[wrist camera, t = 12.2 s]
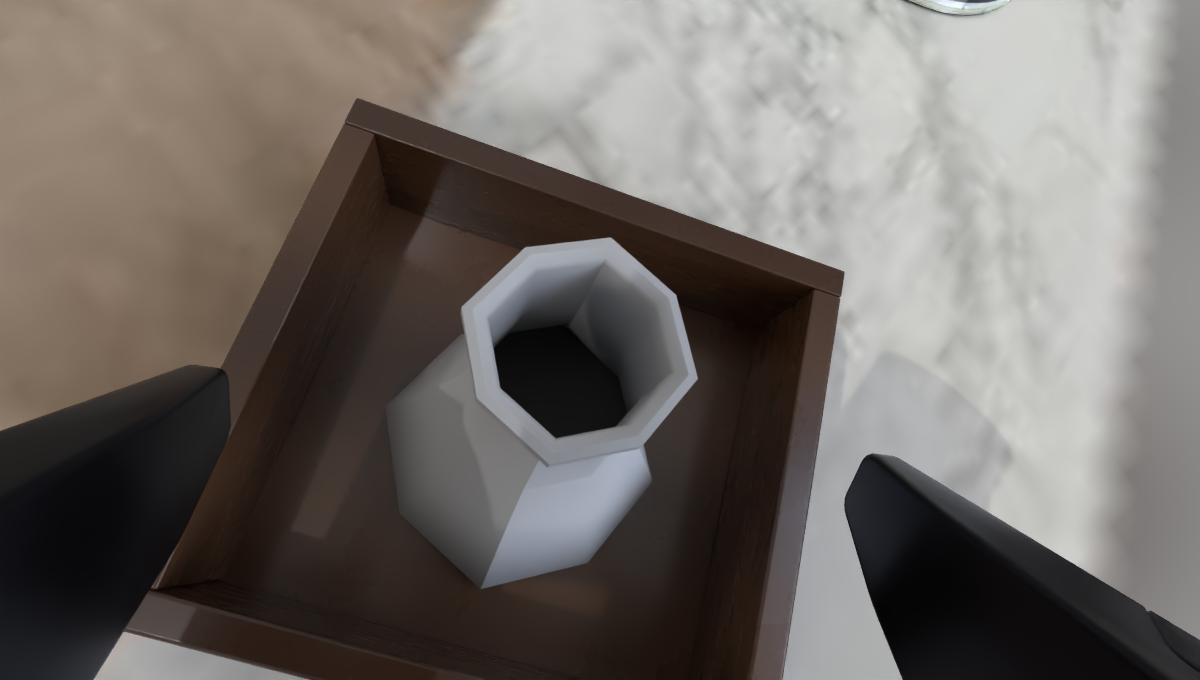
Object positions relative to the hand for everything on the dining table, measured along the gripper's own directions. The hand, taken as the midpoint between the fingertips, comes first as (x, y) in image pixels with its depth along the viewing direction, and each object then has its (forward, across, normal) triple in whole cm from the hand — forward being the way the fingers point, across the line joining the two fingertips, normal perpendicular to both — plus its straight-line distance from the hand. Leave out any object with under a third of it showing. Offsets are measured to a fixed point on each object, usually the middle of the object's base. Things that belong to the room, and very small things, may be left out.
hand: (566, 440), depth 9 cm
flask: (+8, 0, +6) cm, 10 cm away
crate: (+8, 0, +6) cm, 10 cm away
